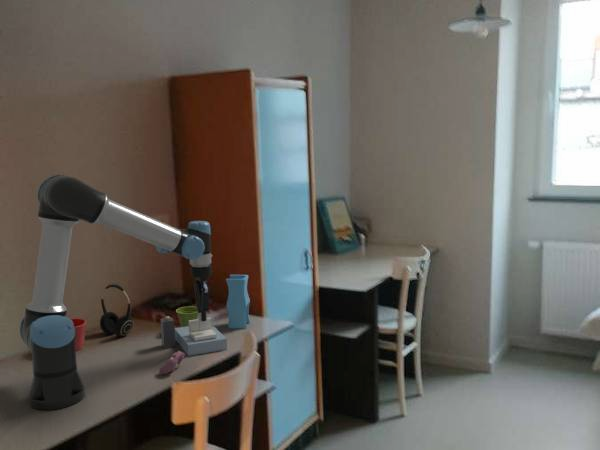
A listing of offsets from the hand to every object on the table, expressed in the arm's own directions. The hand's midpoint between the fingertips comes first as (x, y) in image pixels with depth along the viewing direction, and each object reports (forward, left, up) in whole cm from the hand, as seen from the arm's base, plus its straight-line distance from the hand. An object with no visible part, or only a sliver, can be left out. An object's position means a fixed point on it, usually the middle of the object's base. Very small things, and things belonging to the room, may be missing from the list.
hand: (203, 328), depth 209 cm
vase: (+20, +18, -7) cm, 28 cm away
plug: (-11, +7, -7) cm, 15 cm away
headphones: (-26, +28, -7) cm, 39 cm away
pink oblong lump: (-15, -15, -7) cm, 22 cm away
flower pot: (-43, +20, -7) cm, 48 cm away
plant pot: (0, +20, -7) cm, 22 cm away
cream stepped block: (0, 0, -3) cm, 3 cm away
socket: (0, +4, -7) cm, 8 cm away
